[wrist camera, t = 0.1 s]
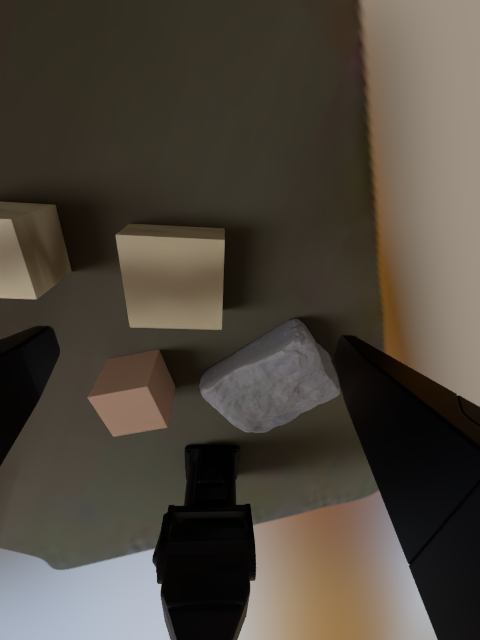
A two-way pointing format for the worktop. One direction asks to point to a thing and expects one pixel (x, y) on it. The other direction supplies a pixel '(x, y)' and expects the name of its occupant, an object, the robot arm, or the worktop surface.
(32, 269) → the beech block
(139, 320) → the oak base block
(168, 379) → the terracotta block
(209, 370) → the stone block
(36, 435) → the worktop surface
